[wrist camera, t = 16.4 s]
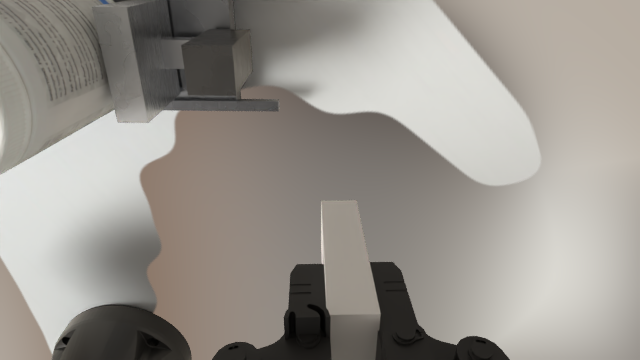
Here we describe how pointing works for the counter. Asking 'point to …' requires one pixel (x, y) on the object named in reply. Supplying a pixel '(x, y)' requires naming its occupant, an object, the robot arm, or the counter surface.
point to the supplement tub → (48, 74)
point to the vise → (190, 21)
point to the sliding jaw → (165, 58)
